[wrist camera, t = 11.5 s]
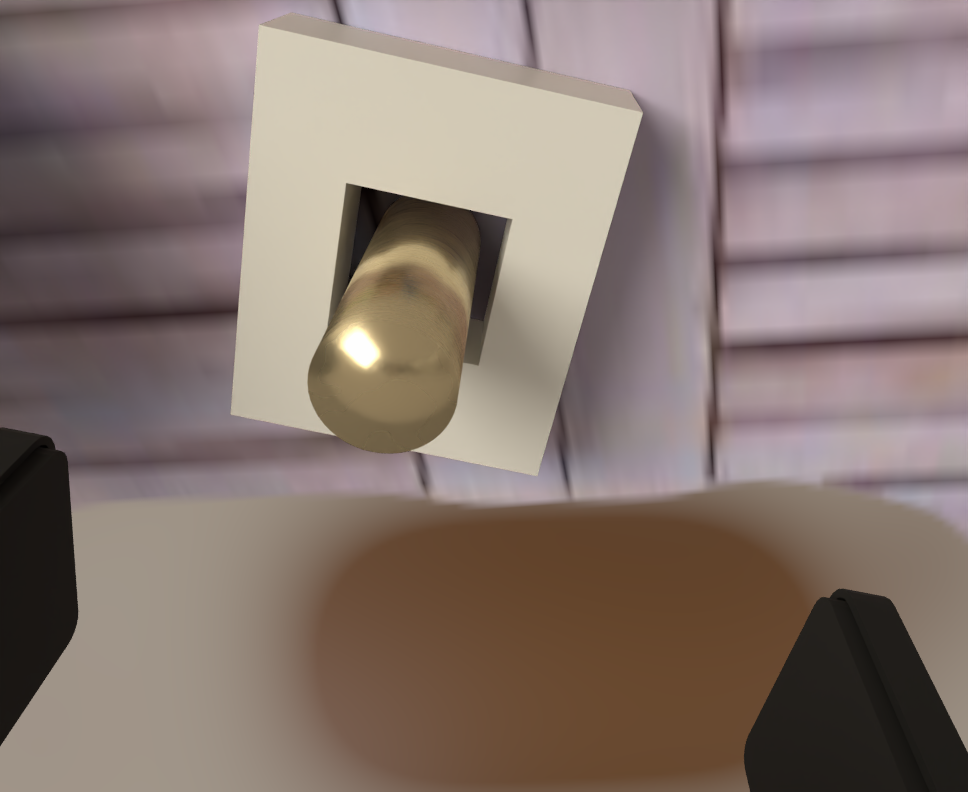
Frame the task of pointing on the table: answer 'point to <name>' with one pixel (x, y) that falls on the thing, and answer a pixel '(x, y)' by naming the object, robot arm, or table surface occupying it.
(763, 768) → the robot arm
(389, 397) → the gold cylindrical peg
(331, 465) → the table surface
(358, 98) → the white square socket block
